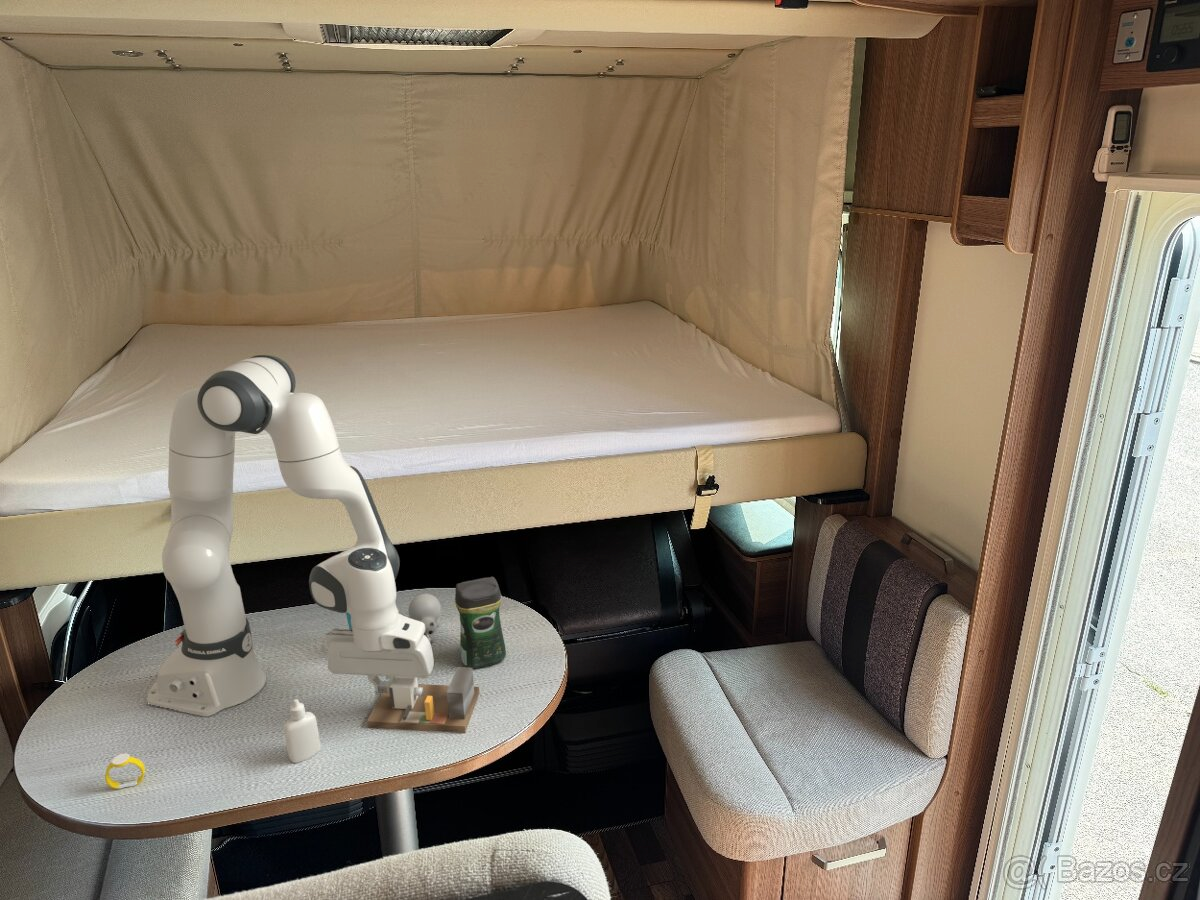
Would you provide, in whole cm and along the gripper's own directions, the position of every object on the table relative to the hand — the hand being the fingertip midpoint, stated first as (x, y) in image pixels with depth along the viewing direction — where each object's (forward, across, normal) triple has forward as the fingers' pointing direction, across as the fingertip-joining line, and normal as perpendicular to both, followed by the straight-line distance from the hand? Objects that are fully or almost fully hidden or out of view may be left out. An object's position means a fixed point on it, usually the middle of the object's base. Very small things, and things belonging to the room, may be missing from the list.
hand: (384, 691), depth 167 cm
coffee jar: (+4, +15, +18) cm, 24 cm away
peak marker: (+2, +10, -4) cm, 11 cm away
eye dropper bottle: (+4, -11, -14) cm, 18 cm away
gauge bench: (+4, +8, 0) cm, 9 cm away
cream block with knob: (+2, +5, -2) cm, 6 cm away
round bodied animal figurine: (+4, 0, +27) cm, 27 cm away
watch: (+4, -39, -24) cm, 46 cm away
